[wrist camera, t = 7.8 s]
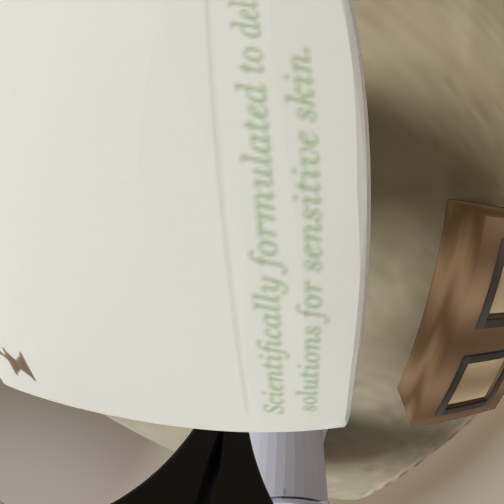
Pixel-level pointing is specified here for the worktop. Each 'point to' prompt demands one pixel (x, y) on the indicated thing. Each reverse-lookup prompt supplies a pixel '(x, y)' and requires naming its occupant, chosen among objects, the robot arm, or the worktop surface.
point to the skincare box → (185, 209)
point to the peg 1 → (476, 380)
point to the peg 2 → (499, 297)
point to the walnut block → (458, 317)
